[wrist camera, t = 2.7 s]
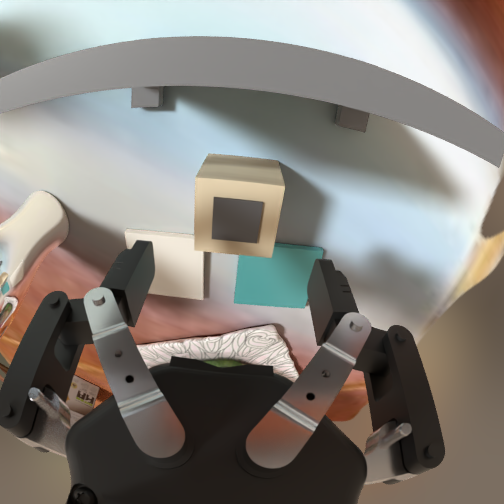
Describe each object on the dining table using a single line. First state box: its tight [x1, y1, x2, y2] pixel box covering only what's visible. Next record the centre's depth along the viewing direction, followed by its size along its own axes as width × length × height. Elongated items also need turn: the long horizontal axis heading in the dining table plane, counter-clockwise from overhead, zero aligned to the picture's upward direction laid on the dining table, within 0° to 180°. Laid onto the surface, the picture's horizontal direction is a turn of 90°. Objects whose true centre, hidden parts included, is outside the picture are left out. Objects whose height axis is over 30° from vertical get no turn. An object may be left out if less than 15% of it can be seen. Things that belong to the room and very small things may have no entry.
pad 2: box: [234, 243, 323, 308], centre depth 25 cm, size 7×7×1 cm
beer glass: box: [0, 191, 69, 340], centre depth 15 cm, size 7×7×15 cm
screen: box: [0, 36, 504, 168], centre depth 10 cm, size 5×16×13 cm, turn 83°
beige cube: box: [194, 154, 285, 258], centre depth 18 cm, size 5×5×5 cm
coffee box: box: [66, 375, 99, 426], centre depth 38 cm, size 9×6×16 cm
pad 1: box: [124, 229, 204, 300], centre depth 24 cm, size 7×7×1 cm
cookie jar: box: [136, 325, 299, 382], centre depth 25 cm, size 25×25×32 cm
